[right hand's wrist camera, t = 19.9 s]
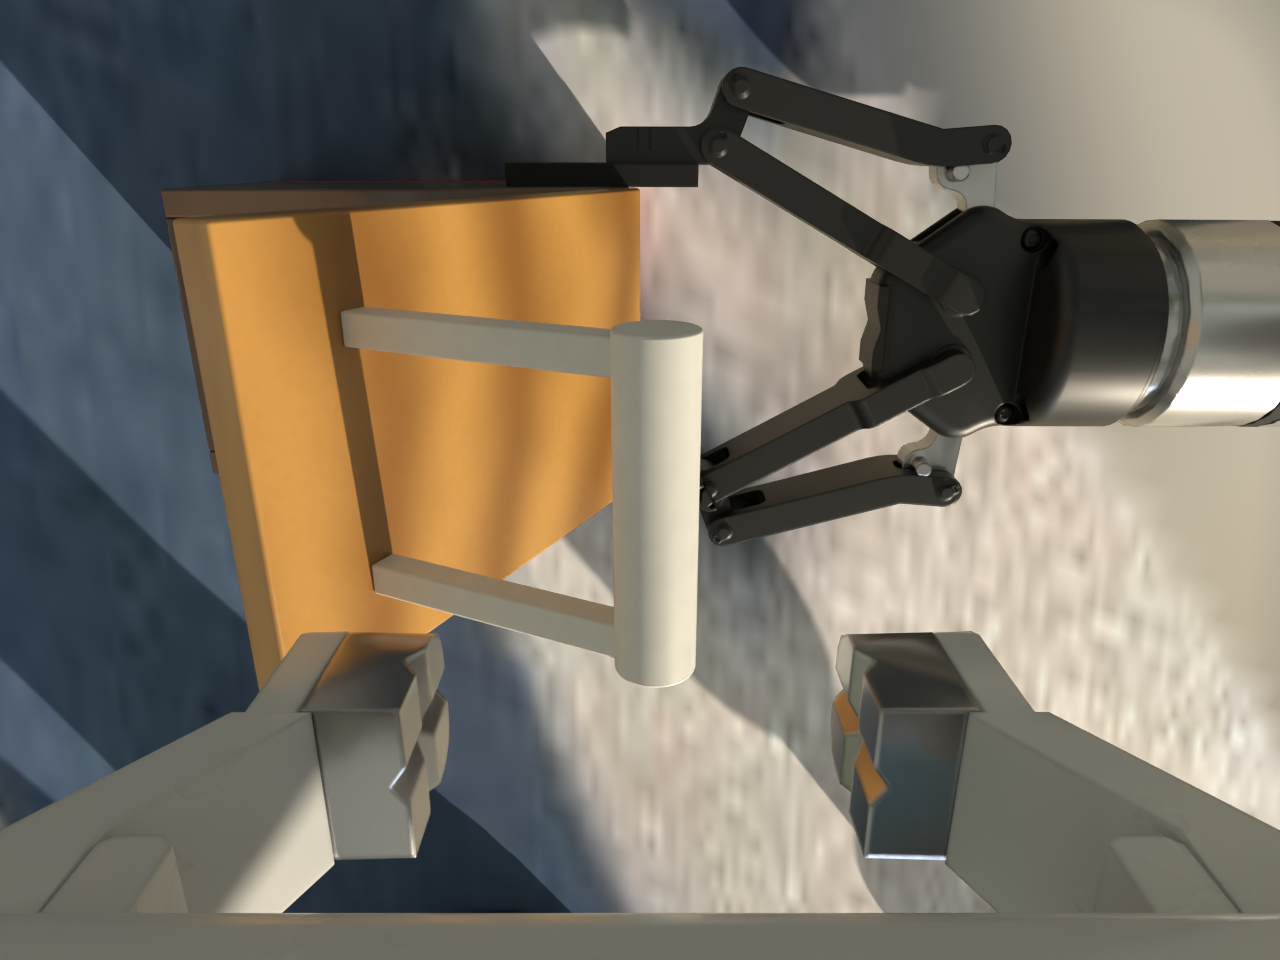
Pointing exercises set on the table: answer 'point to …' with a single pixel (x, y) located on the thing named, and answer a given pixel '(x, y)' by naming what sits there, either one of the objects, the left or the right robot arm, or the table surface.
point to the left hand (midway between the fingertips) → (518, 323)
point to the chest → (313, 197)
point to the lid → (448, 419)
